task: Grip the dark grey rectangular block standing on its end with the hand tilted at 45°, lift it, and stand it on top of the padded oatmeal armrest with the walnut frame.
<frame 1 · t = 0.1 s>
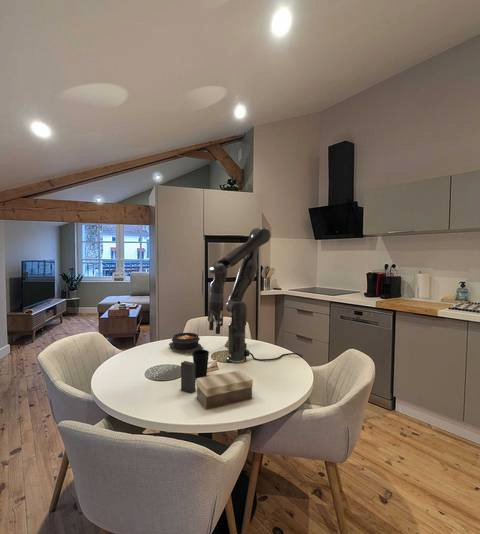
hand: (214, 331, 164), 17 cm above the table, tool pointing down, fingers open, 8 cm apart
cup: (200, 377, 148), on the table
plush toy: (237, 346, 196), on the table
casserole: (185, 349, 189), on the table
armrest: (224, 398, 127), on the table
dark grey rectangular block: (188, 390, 134), on the table
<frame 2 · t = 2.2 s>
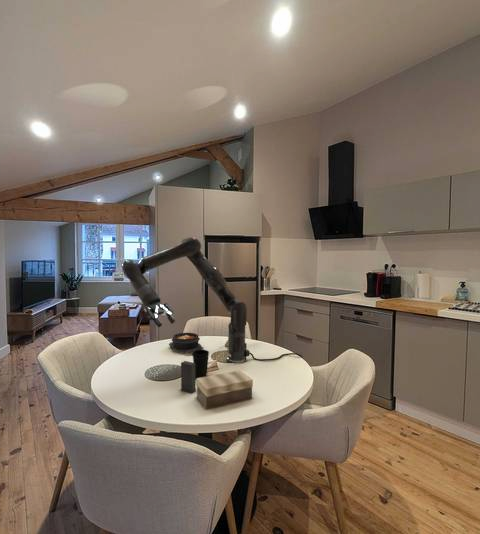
hand: (167, 324, 138), 27 cm above the table, tool tilted 45°, fingers open, 8 cm apart
nothing on the table moved.
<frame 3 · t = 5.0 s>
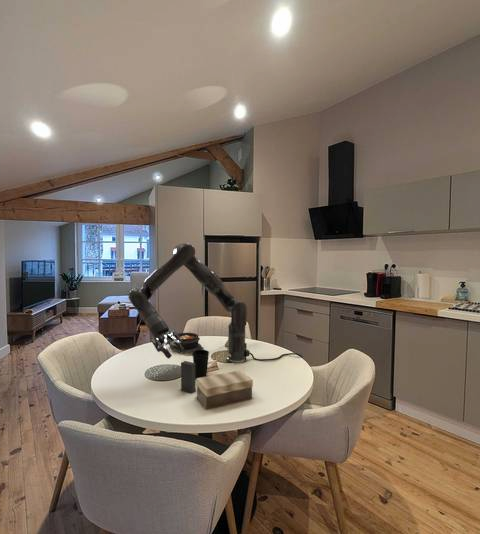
hand: (176, 354, 136), 15 cm above the table, tool tilted 45°, fingers open, 8 cm apart
nothing on the table moved.
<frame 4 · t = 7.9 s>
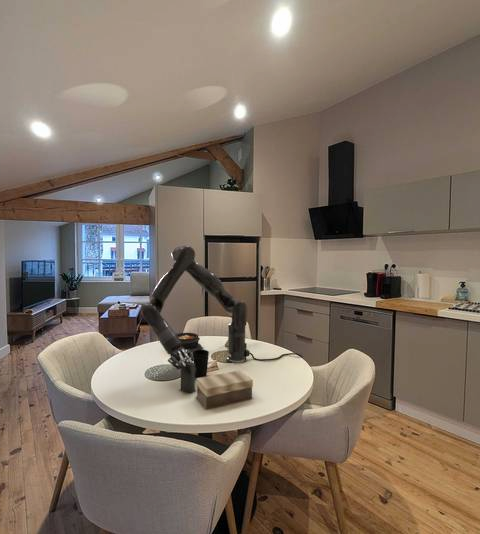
hand: (192, 373, 132), 8 cm above the table, tool tilted 45°, fingers closed on dark grey rectangular block, 3 cm apart
dark grey rectangular block: (187, 390, 133), on the table, touching gripper
everything else where it was.
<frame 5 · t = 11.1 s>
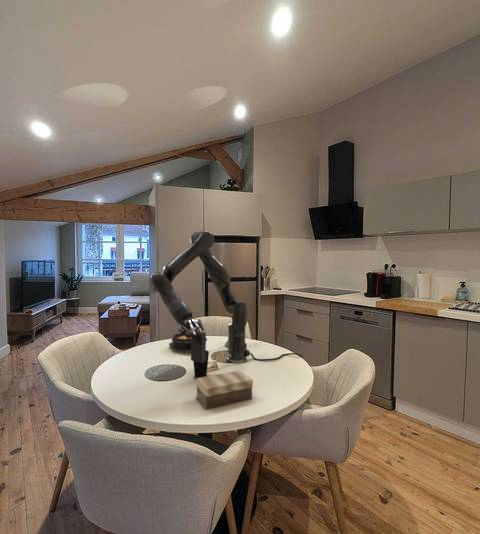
hand: (202, 342, 129), 22 cm above the table, tool tilted 45°, fingers closed on dark grey rectangular block, 3 cm apart
dark grey rectangular block: (198, 360, 131), point 14 cm above the table, touching gripper
everything else where it was.
when the fingers open (16 cm above the table, at t = 14.8 s): dark grey rectangular block stays where it is, resting on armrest.
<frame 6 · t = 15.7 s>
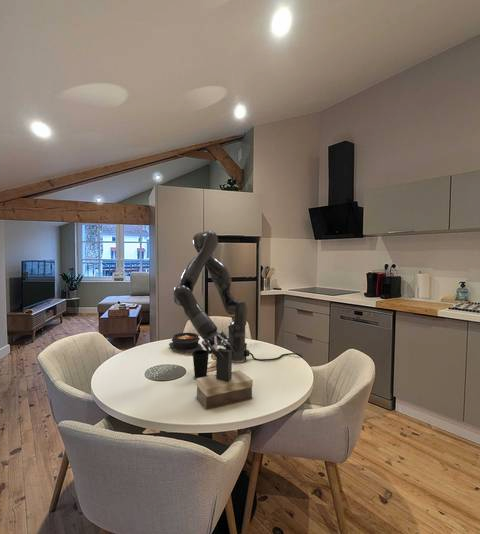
hand: (227, 356, 125), 17 cm above the table, tool tilted 45°, fingers open, 8 cm apart
dark grey rectangular block: (223, 379, 126), point 8 cm above the table, touching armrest
everything else where it was.
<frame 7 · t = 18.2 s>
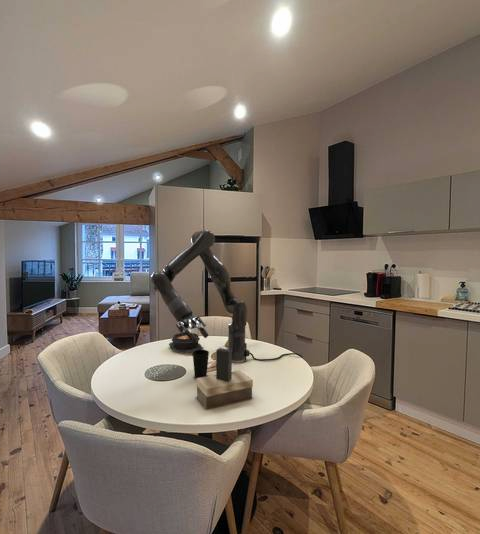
hand: (201, 339, 131), 23 cm above the table, tool tilted 45°, fingers open, 8 cm apart
nothing on the table moved.
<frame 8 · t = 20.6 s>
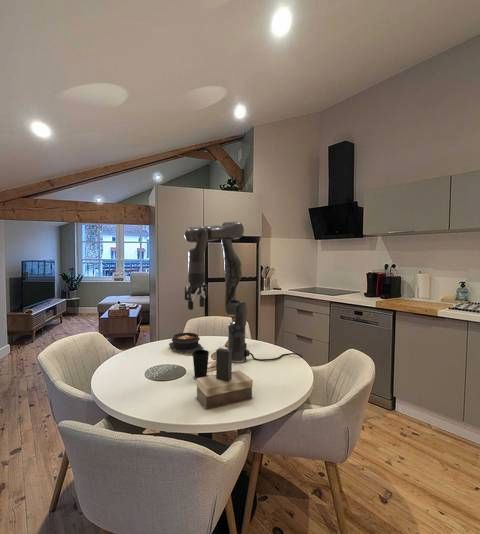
hand: (196, 308, 140), 34 cm above the table, tool pointing down, fingers open, 8 cm apart
nothing on the table moved.
at the end: dark grey rectangular block inside the target area on the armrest (0.3 cm from its centre), point 8.0 cm above the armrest's base; dark grey rectangular block tilted 0°; the gripper is holding nothing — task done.
